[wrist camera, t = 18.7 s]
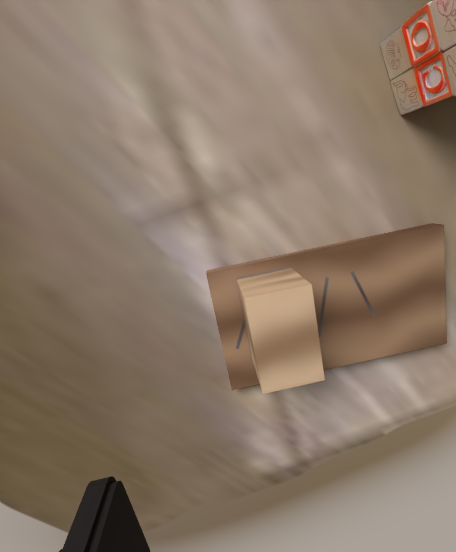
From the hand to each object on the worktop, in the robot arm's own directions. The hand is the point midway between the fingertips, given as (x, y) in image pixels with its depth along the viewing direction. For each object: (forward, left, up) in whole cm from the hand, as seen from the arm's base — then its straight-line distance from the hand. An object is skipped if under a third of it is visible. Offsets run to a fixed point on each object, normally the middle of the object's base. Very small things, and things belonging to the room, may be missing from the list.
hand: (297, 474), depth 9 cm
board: (+5, +9, -22) cm, 25 cm away
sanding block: (+4, +3, -21) cm, 21 cm away
